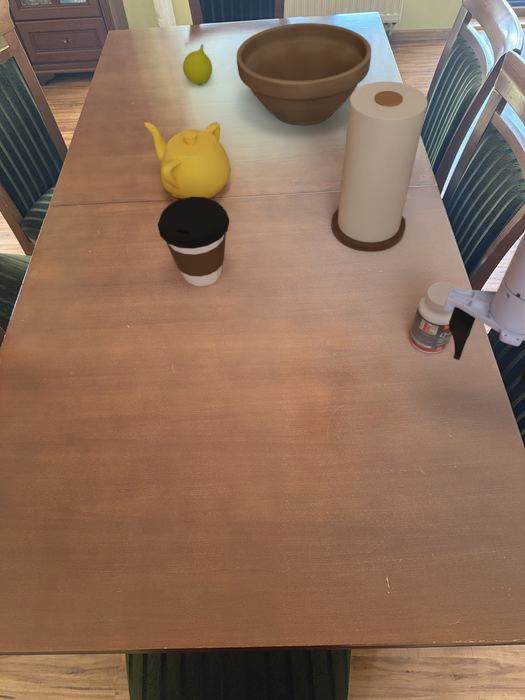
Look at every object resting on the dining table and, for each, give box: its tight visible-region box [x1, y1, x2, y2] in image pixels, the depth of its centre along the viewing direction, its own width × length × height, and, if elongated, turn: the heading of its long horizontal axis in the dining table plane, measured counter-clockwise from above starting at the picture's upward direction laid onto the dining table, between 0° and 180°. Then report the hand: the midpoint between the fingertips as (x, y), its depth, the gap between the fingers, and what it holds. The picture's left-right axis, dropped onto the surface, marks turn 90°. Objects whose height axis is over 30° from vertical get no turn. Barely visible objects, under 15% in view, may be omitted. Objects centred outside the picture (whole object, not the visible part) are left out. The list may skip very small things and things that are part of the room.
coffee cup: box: [157, 197, 230, 288], centre depth 81 cm, size 11×11×12 cm
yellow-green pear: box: [182, 44, 213, 85], centre depth 124 cm, size 7×7×10 cm
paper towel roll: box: [331, 81, 428, 253], centre depth 83 cm, size 13×13×24 cm
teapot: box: [144, 121, 232, 199], centre depth 96 cm, size 14×14×12 cm
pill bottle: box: [409, 281, 460, 354], centre depth 72 cm, size 6×6×10 cm
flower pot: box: [236, 22, 372, 126], centre depth 113 cm, size 28×28×13 cm
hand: (490, 364), depth 61 cm, fingers open, 7 cm apart
